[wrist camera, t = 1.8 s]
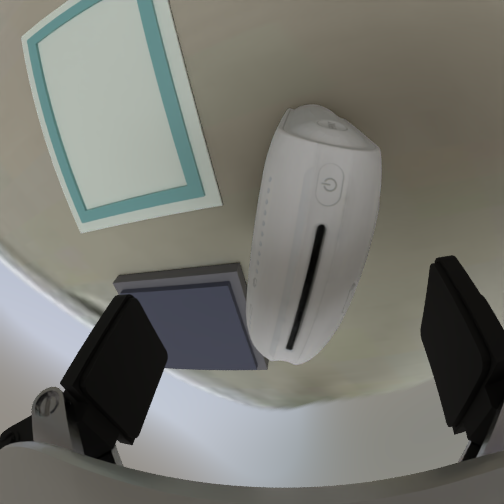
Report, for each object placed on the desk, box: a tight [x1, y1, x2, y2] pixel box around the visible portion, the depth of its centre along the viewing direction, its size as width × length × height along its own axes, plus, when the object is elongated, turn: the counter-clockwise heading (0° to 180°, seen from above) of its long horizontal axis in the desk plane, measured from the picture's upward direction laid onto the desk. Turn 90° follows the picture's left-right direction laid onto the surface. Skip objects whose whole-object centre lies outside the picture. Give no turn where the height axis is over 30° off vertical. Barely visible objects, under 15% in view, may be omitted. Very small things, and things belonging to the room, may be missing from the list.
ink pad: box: [113, 263, 269, 370], centre depth 28 cm, size 12×12×2 cm
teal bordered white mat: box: [21, 0, 223, 233], centre depth 19 cm, size 14×20×1 cm
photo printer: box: [246, 104, 382, 365], centre depth 15 cm, size 10×4×12 cm, turn 174°
